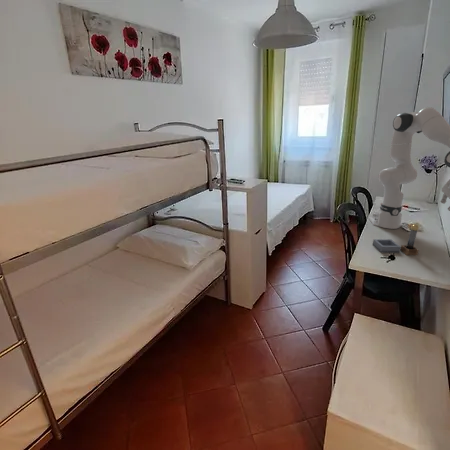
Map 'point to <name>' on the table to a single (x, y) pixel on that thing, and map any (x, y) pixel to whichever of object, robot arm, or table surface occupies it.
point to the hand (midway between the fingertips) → (445, 206)
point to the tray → (386, 246)
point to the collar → (409, 250)
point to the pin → (412, 236)
